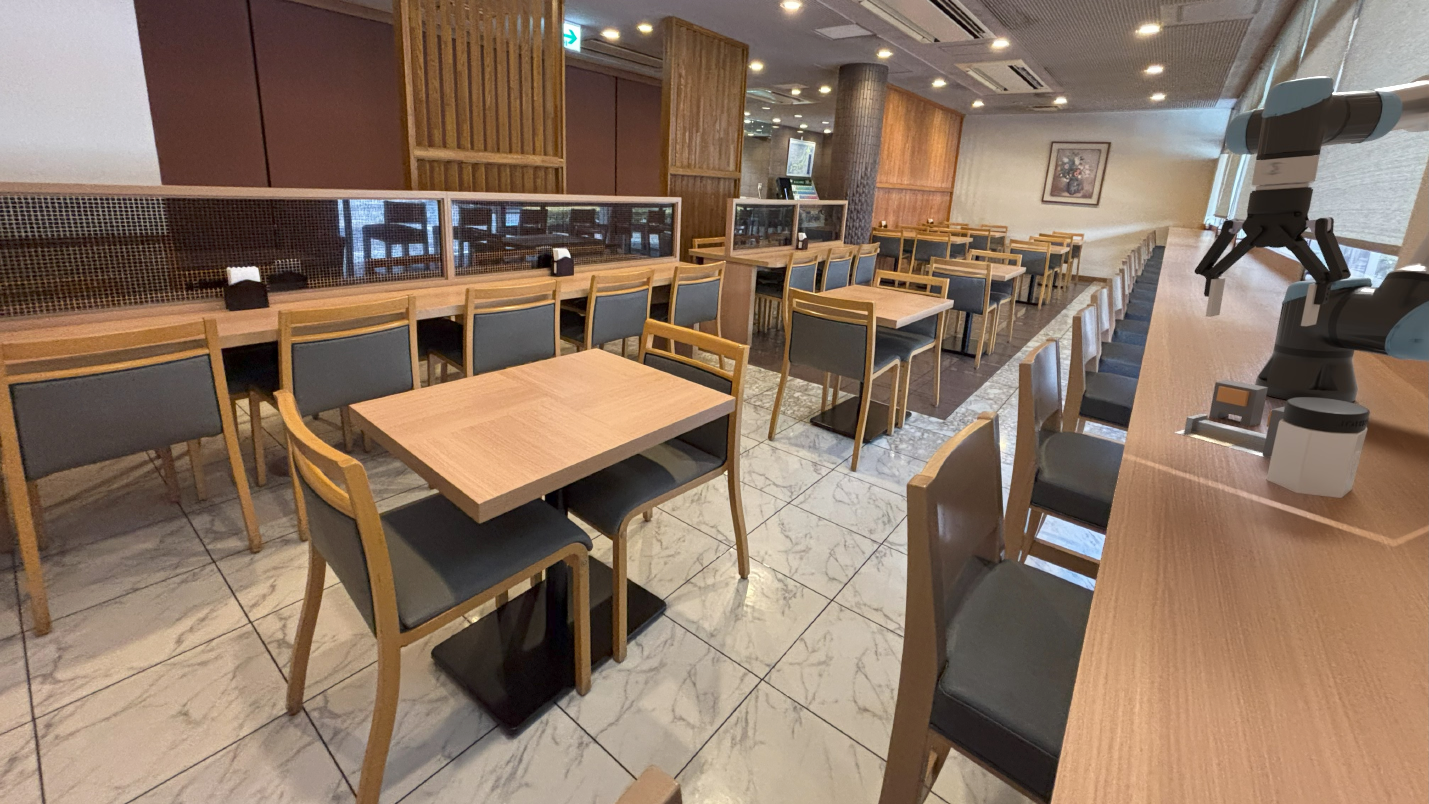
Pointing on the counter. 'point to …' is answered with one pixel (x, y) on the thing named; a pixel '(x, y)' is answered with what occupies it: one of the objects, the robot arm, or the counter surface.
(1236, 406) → the block
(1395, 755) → the counter surface
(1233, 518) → the counter surface
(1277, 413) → the fixed finger
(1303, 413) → the jar
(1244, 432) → the rail
